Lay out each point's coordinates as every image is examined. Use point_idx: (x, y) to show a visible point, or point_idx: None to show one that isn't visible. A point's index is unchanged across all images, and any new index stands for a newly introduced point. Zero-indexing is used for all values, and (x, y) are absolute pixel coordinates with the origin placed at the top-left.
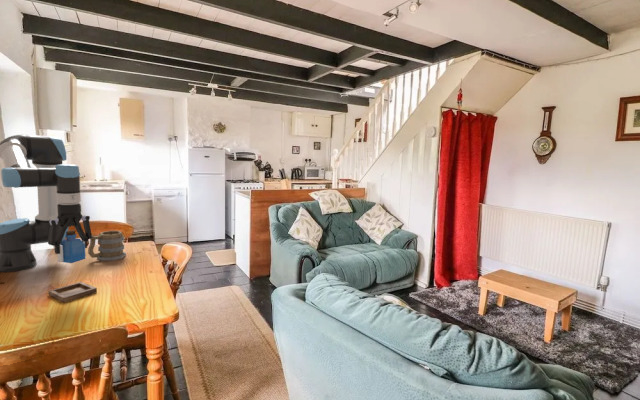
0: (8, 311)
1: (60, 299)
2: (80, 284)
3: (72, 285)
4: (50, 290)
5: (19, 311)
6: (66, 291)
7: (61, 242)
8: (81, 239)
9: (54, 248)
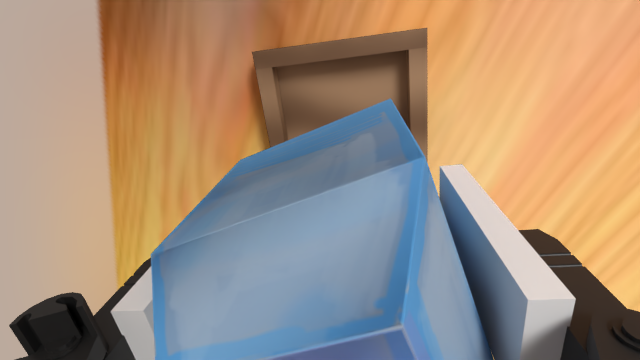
0: (114, 119)
1: None
2: (408, 61)
3: (368, 53)
4: (261, 54)
5: (147, 150)
6: (329, 82)
7: (164, 339)
8: (589, 329)
9: (108, 302)
